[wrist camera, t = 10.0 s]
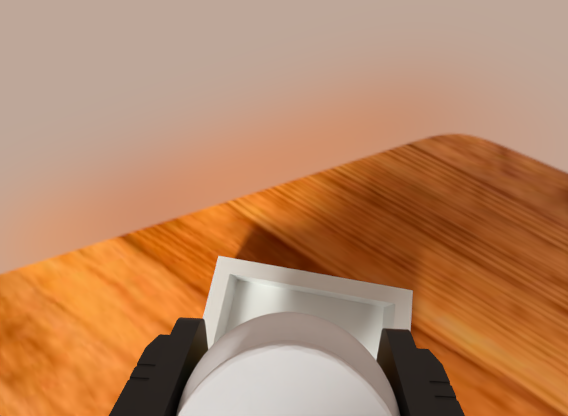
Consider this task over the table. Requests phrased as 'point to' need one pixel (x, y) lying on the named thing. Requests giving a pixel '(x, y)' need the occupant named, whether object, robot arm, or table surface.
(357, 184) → the table surface
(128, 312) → the table surface
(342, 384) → the supplement bottle
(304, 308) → the tray
